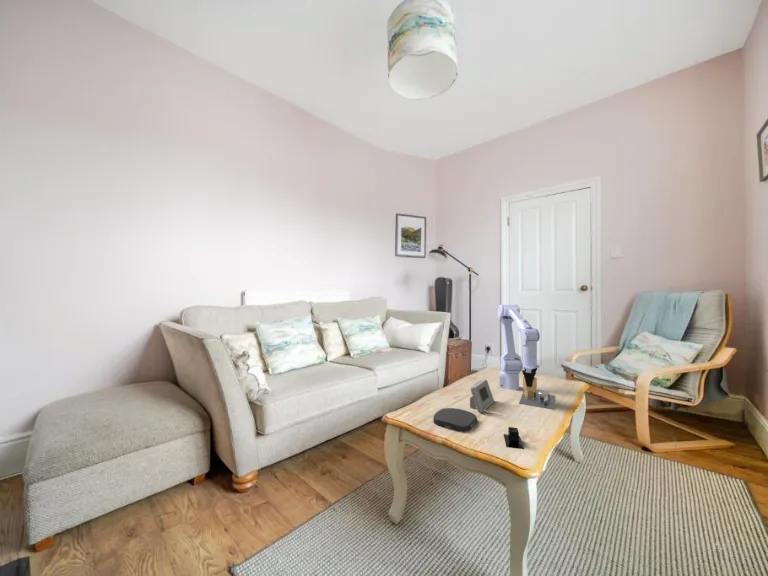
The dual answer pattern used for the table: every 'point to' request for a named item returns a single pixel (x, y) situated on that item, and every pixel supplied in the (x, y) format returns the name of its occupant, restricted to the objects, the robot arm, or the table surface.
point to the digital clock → (481, 396)
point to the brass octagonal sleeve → (534, 385)
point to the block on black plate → (513, 438)
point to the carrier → (538, 399)
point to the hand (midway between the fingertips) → (529, 384)
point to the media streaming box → (455, 419)
